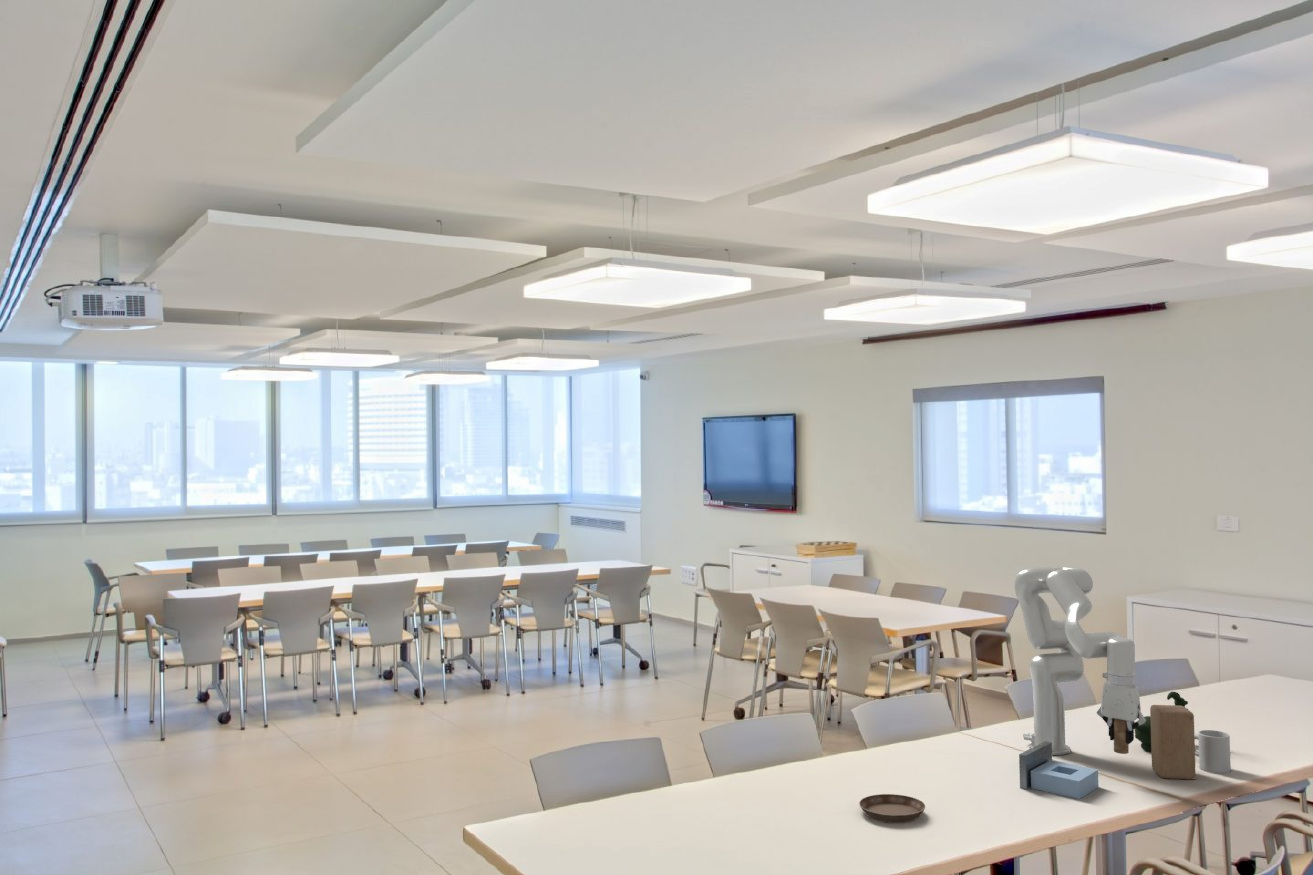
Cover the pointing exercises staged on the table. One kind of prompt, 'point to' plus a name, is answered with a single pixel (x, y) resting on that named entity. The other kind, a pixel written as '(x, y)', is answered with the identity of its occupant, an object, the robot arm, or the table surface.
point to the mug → (1213, 751)
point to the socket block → (1064, 779)
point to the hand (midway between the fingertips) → (1121, 740)
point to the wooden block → (1172, 741)
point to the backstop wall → (1033, 761)
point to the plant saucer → (892, 808)
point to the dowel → (1120, 736)
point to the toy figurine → (1145, 729)
